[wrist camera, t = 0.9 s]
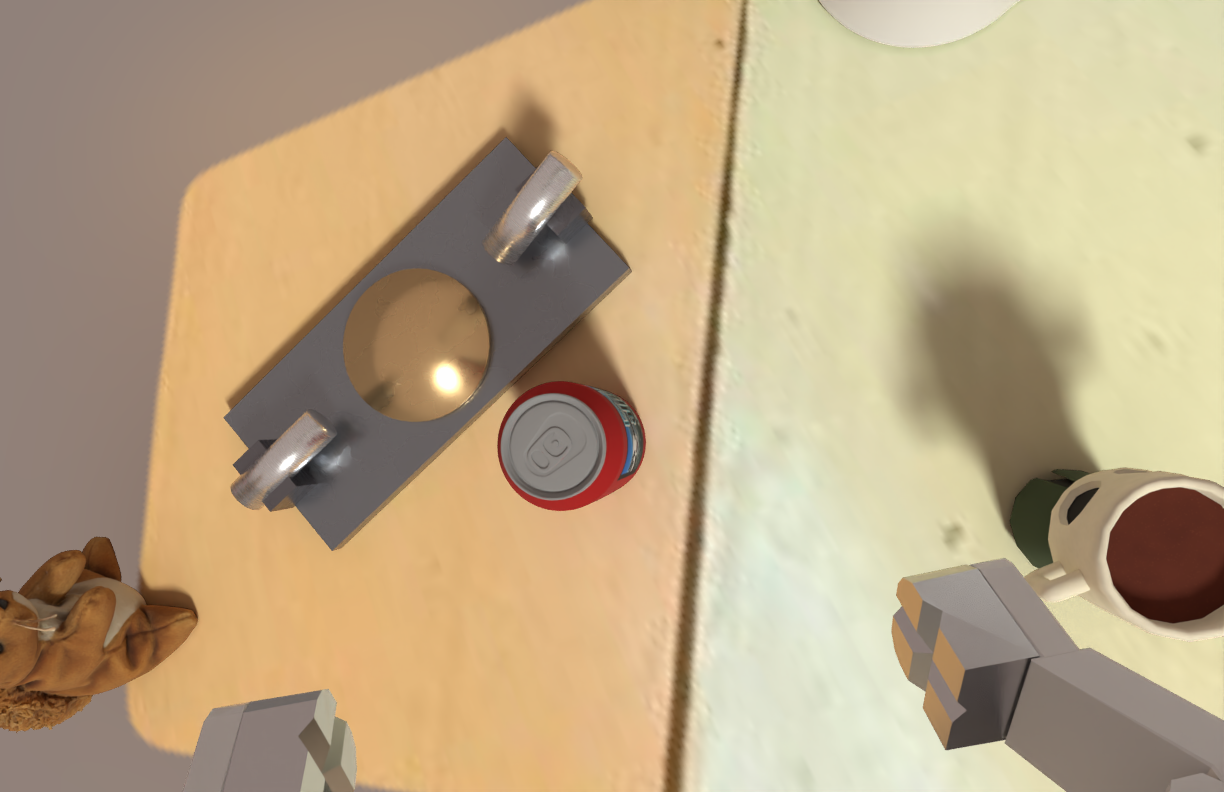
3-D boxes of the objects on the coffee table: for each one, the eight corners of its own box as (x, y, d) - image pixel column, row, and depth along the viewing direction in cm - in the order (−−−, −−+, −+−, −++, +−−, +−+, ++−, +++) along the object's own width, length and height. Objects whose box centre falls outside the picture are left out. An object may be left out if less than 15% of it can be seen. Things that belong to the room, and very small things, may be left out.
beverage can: (669, 442, 51) (647, 447, 39) (595, 516, 51) (551, 543, 39) (595, 368, 52) (552, 350, 40) (524, 441, 52) (460, 446, 40)
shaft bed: (529, 125, 53) (498, 82, 46) (651, 253, 51) (637, 227, 45) (224, 427, 56) (154, 427, 49) (330, 557, 54) (273, 576, 47)
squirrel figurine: (212, 613, 55) (49, 670, 42) (87, 755, 57) (-108, 854, 44) (121, 513, 57) (-64, 539, 44) (1, 654, 58) (-213, 720, 45)
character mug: (1126, 428, 46) (1273, 429, 33) (1185, 542, 46) (1358, 587, 33) (947, 503, 48) (1023, 531, 35) (1001, 614, 47) (1098, 684, 34)
